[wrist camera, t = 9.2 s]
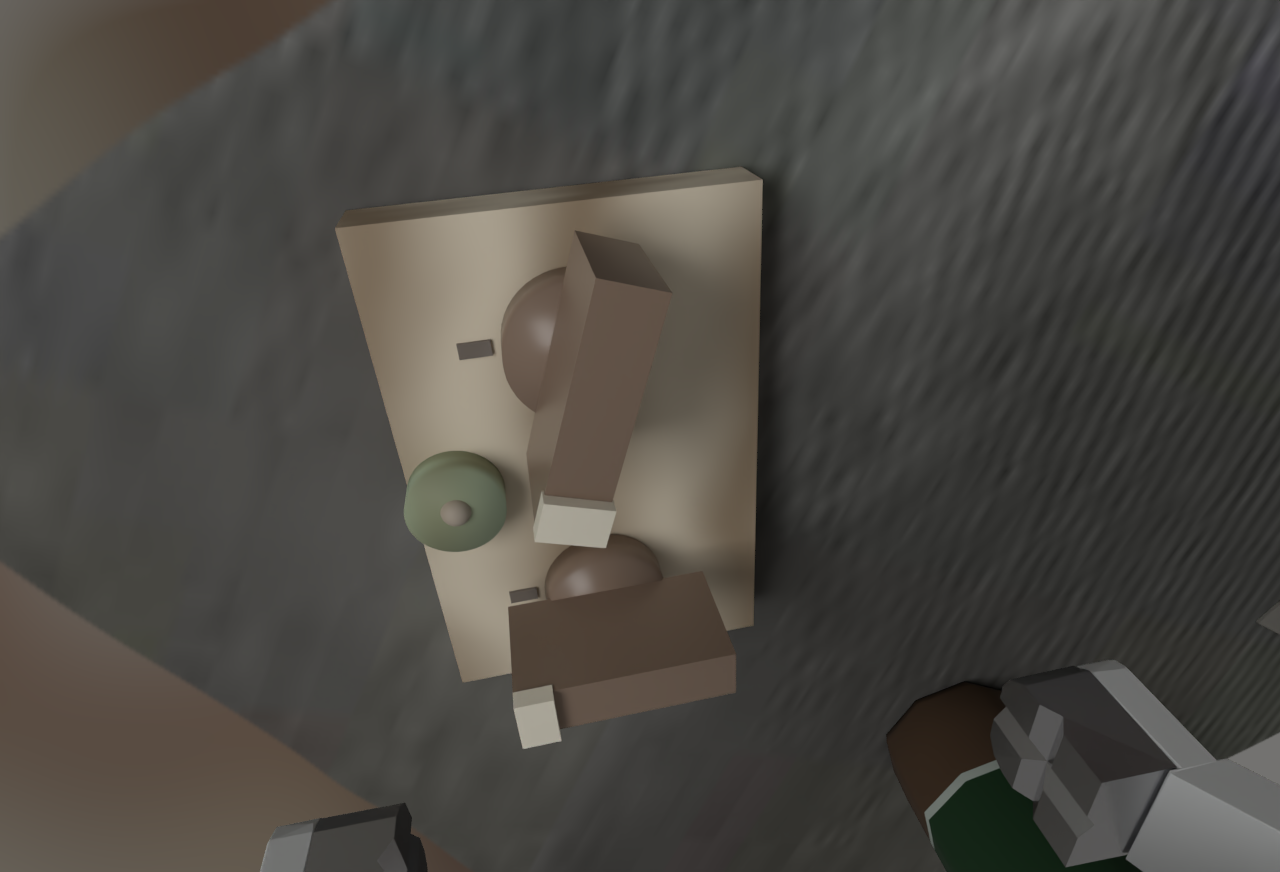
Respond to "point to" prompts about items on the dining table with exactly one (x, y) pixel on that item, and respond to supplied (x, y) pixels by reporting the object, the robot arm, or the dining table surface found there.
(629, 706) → the knob far
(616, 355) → the knob near
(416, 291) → the control panel
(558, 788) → the dining table surface
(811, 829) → the dining table surface
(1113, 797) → the robot arm
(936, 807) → the beer bottle
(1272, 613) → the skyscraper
